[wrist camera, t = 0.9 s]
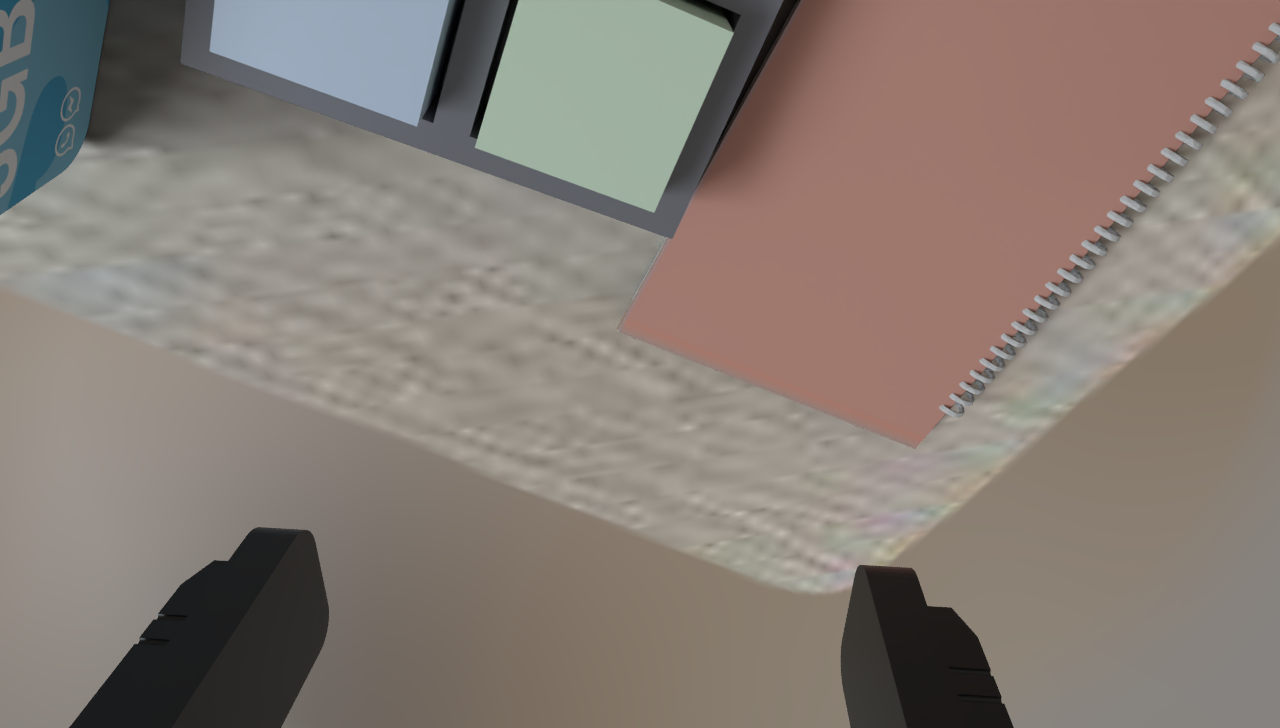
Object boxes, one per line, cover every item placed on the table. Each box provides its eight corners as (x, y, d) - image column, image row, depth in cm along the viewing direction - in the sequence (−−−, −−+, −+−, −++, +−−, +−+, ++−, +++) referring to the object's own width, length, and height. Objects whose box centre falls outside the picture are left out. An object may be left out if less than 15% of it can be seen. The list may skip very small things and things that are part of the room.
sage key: (488, 111, 28) (474, 147, 25) (543, -71, 25) (534, -53, 22) (649, 172, 30) (654, 213, 27) (720, 6, 26) (733, 32, 24)
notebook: (921, 433, 41) (934, 459, 39) (616, 310, 36) (617, 334, 35) (1420, -140, 27) (1472, -136, 26) (1033, -451, 23) (1065, -471, 21)
